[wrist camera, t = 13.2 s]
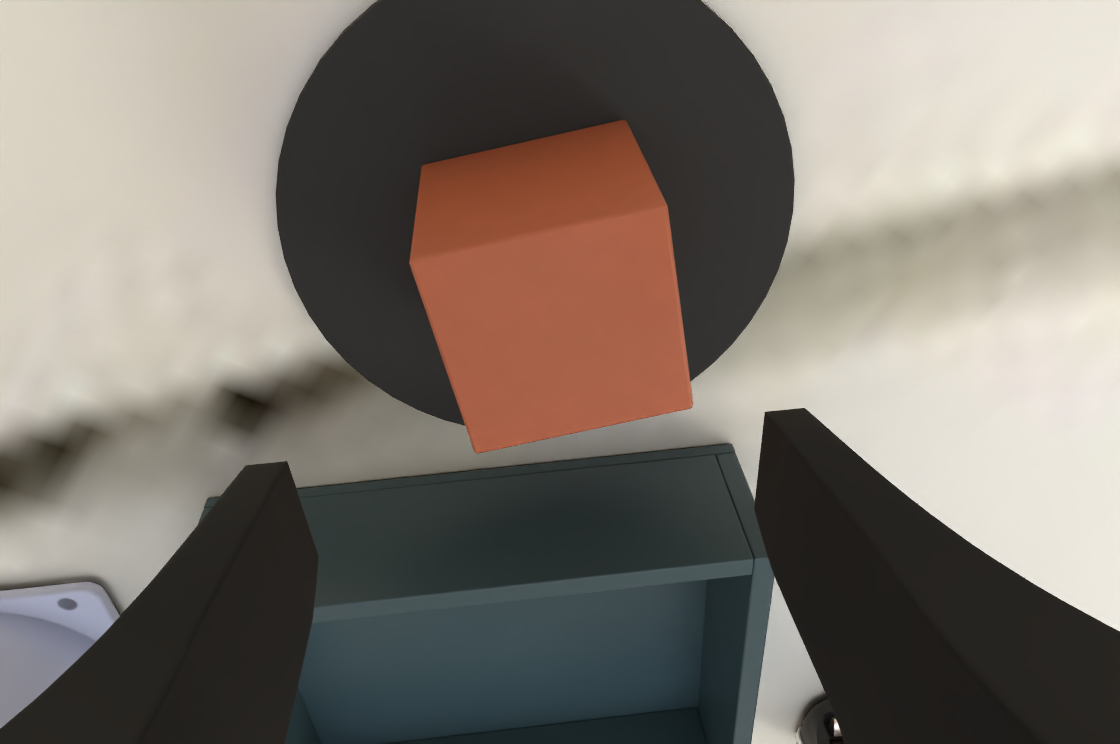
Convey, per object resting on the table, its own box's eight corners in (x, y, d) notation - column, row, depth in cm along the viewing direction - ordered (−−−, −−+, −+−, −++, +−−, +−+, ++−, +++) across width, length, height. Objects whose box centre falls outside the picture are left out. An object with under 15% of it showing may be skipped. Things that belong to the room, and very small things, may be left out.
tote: (313, 750, 31) (293, 875, 27) (206, 497, 23) (159, 624, 20) (710, 704, 32) (740, 820, 28) (732, 443, 24) (778, 556, 20)
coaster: (340, 445, 23) (338, 454, 22) (209, -29, 16) (203, -26, 16) (766, 401, 23) (770, 410, 23) (819, -77, 16) (826, -74, 16)
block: (473, 336, 21) (475, 456, 17) (420, 164, 18) (407, 261, 14) (653, 296, 20) (694, 409, 17) (626, 117, 18) (668, 203, 14)
